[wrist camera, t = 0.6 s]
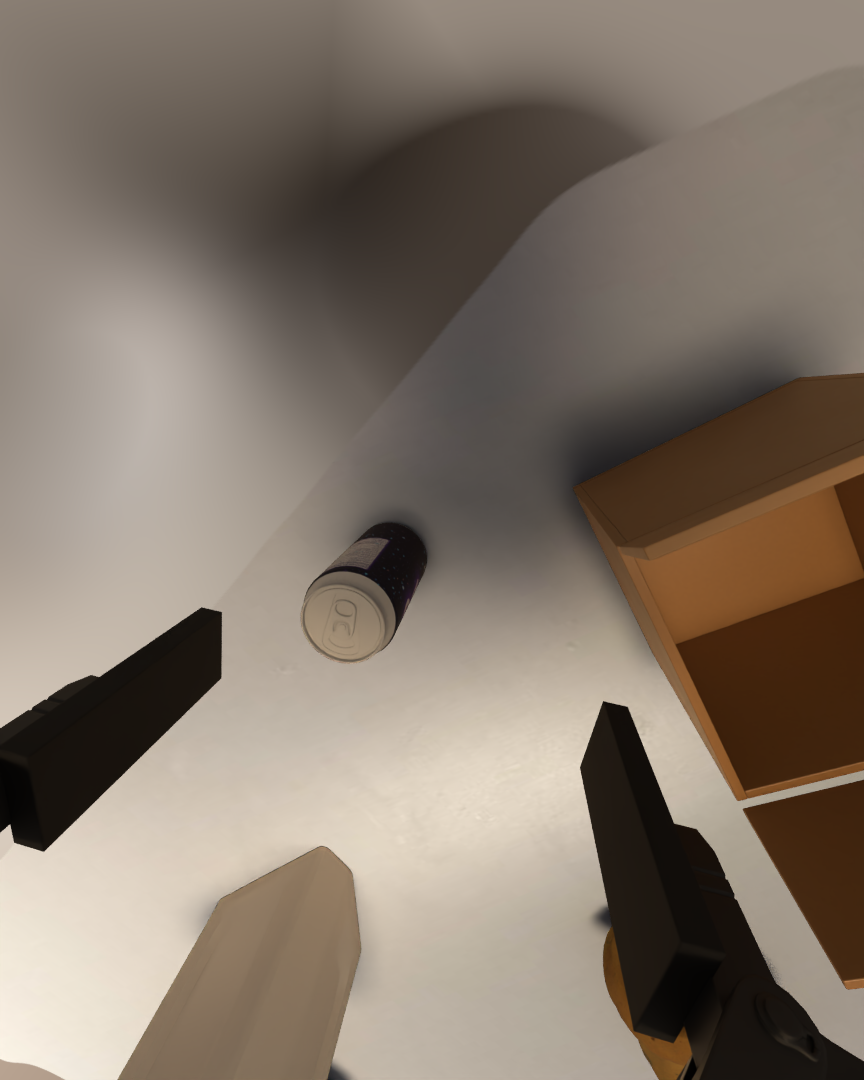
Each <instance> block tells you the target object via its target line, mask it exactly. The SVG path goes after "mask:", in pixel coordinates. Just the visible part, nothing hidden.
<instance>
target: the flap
mask: <svg viewBox="0 0 864 1080" xmlns="http://www.w3.org/2000/svg"><path fill="white" fill-rule="evenodd" d="M863 473H864V441H861V442H859V443H857V444H854V445H852V446H850V447H848V448H845V449H843V450H841V451H838V452H836V453H834V454H831V455H829V456H827V457H824V458H822V459H820V460H817V461H815V462H813V463H810V464H808V465H806V466H803V467H801V468H799V469H796V470H794V471H792V472H790V473H787V474H785V475H783V476H780V477H778V478H776V479H773V480H771V481H769V482H766V483H764V484H762V485H759V486H757V487H755V488H752V489H750V490H748V491H745V492H743V493H741V494H738V495H736V496H734V497H731V498H729V499H727V500H725V501H722V502H720V503H718V504H715V505H713V506H711V507H708V508H706V509H704V510H701V511H699V512H697V513H694V514H692V515H690V516H687V517H685V518H683V519H680V520H678V521H676V522H673V523H671V524H669V525H666V526H664V527H662V528H660V529H657V530H655V531H653V532H650V533H648V534H646V535H643V536H641V537H639V538H636V539H634V540H632V541H629V542H627V543H625V544H622V545H620V546H619V548H620V550H621V552H622V554H623V555H627V556H631V557H635V558H640V559H644V560H648V561H652V560H655V559H657V558H660V557H662V556H664V555H667V554H669V553H672V552H674V551H677V550H679V549H681V548H684V547H686V546H689V545H691V544H694V543H696V542H698V541H701V540H703V539H706V538H708V537H711V536H713V535H715V534H718V533H720V532H723V531H725V530H728V529H730V528H732V527H735V526H737V525H740V524H742V523H744V522H747V521H749V520H752V519H754V518H757V517H759V516H761V515H764V514H766V513H769V512H771V511H774V510H776V509H778V508H781V507H783V506H786V505H788V504H791V503H793V502H795V501H798V500H800V499H803V498H805V497H808V496H810V495H812V494H815V493H817V492H820V491H822V490H825V489H827V488H829V487H832V486H834V485H837V484H839V483H842V482H844V481H846V480H849V479H851V478H854V477H856V476H858V475H861V474H863Z"/></svg>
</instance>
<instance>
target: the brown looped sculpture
mask: <svg viewBox="0 0 864 1080" xmlns="http://www.w3.org/2000/svg"><path fill="white" fill-rule="evenodd" d="M603 968H604V977H605V982H606V986H607V989H608V992H609V995H610V997H611V999H612V1001H613V1003H614V1004H615V1006H616V1008H617V1010H618V1012H619V1014H620V1016H621V1018H622V1019H623V1021H624V1022H625V1023H626V1025H627V1026H628V1028H629V1029H630V1031H631V1032H632V1033H633V1034H634V1035H635V1037H636V1038H637V1039H638V1040H639V1044H640V1046H641V1048H642V1051H643V1053H644V1055H645V1057H646V1059H647V1060H648V1062H649V1063H650V1065H651V1066H652V1068H653V1070H654V1072H655V1074H656V1075H657V1077H658V1079H659V1080H676V1079H677V1078H678V1076H679V1075H680V1073H681V1071H682V1070H683V1068H684V1067H685V1065H686V1063H687V1062H688V1060H689V1059H690V1057H691V1055H692V1052H691V1048H690V1045H689V1041H688V1038H687V1034H686V1031H685V1027H683V1029H682V1030H681V1032H680V1034H679V1035H678V1037H677V1039H676V1040H675V1042H674V1044H673V1043H670V1042H667V1041H664V1040H660V1039H657V1038H654V1037H650V1036H647V1035H644V1034H641V1033H637V1032H634V1031H633V1026H632V1021H631V1016H630V1011H629V1006H628V1001H627V996H626V991H625V986H624V981H623V976H622V972H621V967H620V962H619V957H618V952H617V947H616V942H615V937H614V932H613V927H611V928H610V930H609V932H608V934H607V937H606V940H605V944H604V950H603Z"/></svg>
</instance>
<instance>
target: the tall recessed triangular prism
mask: <svg viewBox="0 0 864 1080" xmlns="http://www.w3.org/2000/svg"><path fill="white" fill-rule="evenodd" d="M360 953H361V943H360V934H359V926H358V918H357V909H356V901H355V892H354V884H353V876H352V873H351V871H350V870H349V869H348V868H347V867H346V866H345V865H344V864H343V863H342V862H341V861H340V860H339V859H338V858H337V857H336V856H335V855H334V854H333V853H332V852H331V851H330V850H329V849H328V848H326V847H318V848H316V849H314V850H313V851H311V852H309V853H307V854H305V855H303V856H301V857H299V858H297V859H295V860H294V861H292V862H290V863H288V864H286V865H284V866H282V867H280V868H278V869H277V870H275V871H273V872H271V873H269V874H267V875H265V876H263V877H261V878H259V879H258V880H256V881H254V882H252V883H250V884H248V885H246V886H244V887H242V888H241V889H239V890H237V891H235V892H233V893H231V894H229V895H227V896H225V897H223V898H222V899H221V900H220V901H219V903H218V905H217V906H216V908H215V910H214V912H213V913H212V915H211V917H210V919H209V920H208V922H207V924H206V926H205V927H204V929H203V931H202V933H201V934H200V936H199V938H198V940H197V941H196V943H195V945H194V947H193V948H192V950H191V952H190V954H189V955H188V957H187V959H186V961H185V962H184V964H183V966H182V968H181V969H180V971H179V973H178V975H177V976H176V978H175V980H174V982H173V983H172V985H171V987H170V989H169V990H168V992H167V994H166V996H165V997H164V999H163V1001H162V1003H161V1004H160V1006H159V1008H158V1010H157V1011H156V1013H155V1015H154V1017H153V1018H152V1020H151V1022H150V1024H149V1025H148V1027H147V1029H146V1031H145V1032H144V1034H143V1036H142V1038H141V1039H140V1041H139V1043H138V1045H137V1046H136V1048H135V1050H134V1052H133V1053H132V1055H131V1057H130V1059H129V1060H128V1062H127V1064H126V1066H125V1068H124V1069H123V1071H122V1073H121V1075H120V1076H119V1078H118V1080H327V1078H328V1074H329V1071H330V1067H331V1063H332V1059H333V1056H334V1052H335V1048H336V1044H337V1040H338V1037H339V1033H340V1029H341V1025H342V1021H343V1018H344V1014H345V1010H346V1006H347V1002H348V999H349V995H350V991H351V987H352V983H353V980H354V976H355V972H356V968H357V964H358V961H359V957H360Z"/></svg>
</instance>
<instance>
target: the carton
mask: <svg viewBox="0 0 864 1080" xmlns="http://www.w3.org/2000/svg"><path fill="white" fill-rule="evenodd" d="M861 441H864V373H857V374H843V375H829V376H815V377H800V378H798V379H796V380H793V381H791V382H789V383H787V384H785V385H783V386H781V387H779V388H777V389H775V390H773V391H771V392H769V393H767V394H765V395H762V396H760V397H758V398H756V399H754V400H752V401H750V402H748V403H746V404H744V405H742V406H740V407H738V408H736V409H734V410H731V411H729V412H727V413H725V414H723V415H721V416H719V417H717V418H715V419H713V420H711V421H709V422H707V423H705V424H703V425H700V426H698V427H696V428H694V429H692V430H690V431H688V432H686V433H684V434H682V435H680V436H678V437H676V438H674V439H672V440H669V441H667V442H665V443H663V444H661V445H659V446H657V447H655V448H653V449H651V450H649V451H647V452H645V453H643V454H641V455H638V456H636V457H634V458H632V459H630V460H628V461H626V462H624V463H622V464H620V465H618V466H616V467H614V468H612V469H610V470H607V471H605V472H603V473H601V474H599V475H597V476H595V477H593V478H591V479H589V480H587V481H585V482H583V483H581V484H579V485H577V486H574V487H573V490H574V492H575V494H576V496H577V498H578V500H579V502H580V504H581V506H582V508H583V510H584V512H585V514H586V516H587V519H588V521H589V523H590V525H591V527H592V529H593V531H594V533H595V535H596V537H597V539H598V541H599V543H600V545H601V547H602V549H603V552H604V554H605V556H606V558H607V560H608V562H609V564H610V566H611V568H612V570H613V572H614V574H615V576H616V578H617V580H618V582H619V585H620V587H621V589H622V591H623V593H624V595H625V597H626V599H627V601H628V603H629V605H630V607H631V609H632V611H633V613H634V615H635V618H636V620H637V622H638V624H639V626H640V628H641V630H642V632H643V634H644V636H645V638H646V640H647V642H648V644H649V646H650V648H651V651H652V653H653V655H654V656H655V658H656V660H657V662H658V663H659V665H660V667H661V669H662V670H663V672H664V674H665V676H666V677H667V679H668V681H669V683H670V684H671V686H672V688H673V689H674V691H675V693H676V695H677V696H678V698H679V700H680V702H681V703H682V705H683V707H684V709H685V710H686V712H687V714H688V716H689V717H690V719H691V721H692V723H693V724H694V726H695V728H696V730H697V731H698V733H699V735H700V737H701V738H702V740H703V742H704V744H705V745H706V747H707V749H708V751H709V752H710V754H711V756H712V758H713V759H714V761H715V763H716V765H717V766H718V768H719V770H720V772H721V773H722V775H723V777H724V779H725V780H726V782H727V784H728V786H729V787H730V789H731V791H732V793H733V794H734V796H735V798H736V800H737V801H740V800H745V799H747V797H748V798H752V797H756V796H760V795H765V794H769V793H773V792H777V791H781V790H785V789H789V788H793V787H797V786H801V785H805V784H810V783H814V782H818V781H822V780H826V779H830V778H834V777H838V776H842V775H846V774H850V773H855V772H859V771H863V770H864V473H863V474H861V475H858V476H856V477H854V478H851V479H849V480H846V481H844V482H842V483H839V484H837V485H834V486H832V487H829V488H827V489H825V490H822V491H820V492H817V493H815V494H812V495H810V496H808V497H805V498H803V499H800V500H798V501H795V502H793V503H791V504H788V505H786V506H783V507H781V508H778V509H776V510H774V511H771V512H769V513H766V514H764V515H761V516H759V517H757V518H754V519H752V520H749V521H747V522H744V523H742V524H740V525H737V526H735V527H732V528H730V529H728V530H725V531H723V532H720V533H718V534H715V535H713V536H711V537H708V538H706V539H703V540H701V541H698V542H696V543H694V544H691V545H689V546H686V547H684V548H681V549H679V550H677V551H674V552H672V553H669V554H667V555H664V556H662V557H660V558H657V559H655V560H652V561H648V560H644V559H640V558H635V557H631V556H627V555H623V554H622V552H621V550H620V548H619V546H620V545H622V544H625V543H627V542H629V541H632V540H634V539H636V538H639V537H641V536H643V535H646V534H648V533H650V532H653V531H655V530H657V529H660V528H662V527H664V526H666V525H669V524H671V523H673V522H676V521H678V520H680V519H683V518H685V517H687V516H690V515H692V514H694V513H697V512H699V511H701V510H704V509H706V508H708V507H711V506H713V505H715V504H718V503H720V502H722V501H725V500H727V499H729V498H731V497H734V496H736V495H738V494H741V493H743V492H745V491H748V490H750V489H752V488H755V487H757V486H759V485H762V484H764V483H766V482H769V481H771V480H773V479H776V478H778V477H780V476H783V475H785V474H787V473H790V472H792V471H794V470H796V469H799V468H801V467H803V466H806V465H808V464H810V463H813V462H815V461H817V460H820V459H822V458H824V457H827V456H829V455H831V454H834V453H836V452H838V451H841V450H843V449H845V448H848V447H850V446H852V445H854V444H857V443H859V442H861ZM743 811H744V813H745V815H746V817H747V819H748V820H749V822H750V824H751V826H752V827H753V829H754V831H755V833H756V834H757V836H758V838H759V839H760V841H761V843H762V845H763V846H764V848H765V850H766V852H767V853H768V855H769V857H770V858H771V860H772V862H773V864H774V865H775V867H776V869H777V870H778V872H779V874H780V876H781V877H782V879H783V881H784V883H785V884H786V886H787V888H788V889H789V891H790V893H791V895H792V896H793V898H794V900H795V902H796V903H797V905H798V907H799V908H800V910H801V912H802V914H803V915H804V917H805V919H806V920H807V922H808V924H809V926H810V927H811V929H812V931H813V933H814V934H815V936H816V938H817V939H818V941H819V943H820V945H821V946H822V948H823V950H824V952H825V953H826V955H827V957H828V958H829V960H830V962H831V964H832V965H833V967H834V969H835V970H836V972H837V974H838V976H839V977H840V979H841V981H842V983H843V984H844V986H845V988H846V989H848V990H849V989H857V988H864V780H861V781H857V782H853V783H848V784H844V785H840V786H836V787H832V788H828V789H823V790H819V791H815V792H811V793H807V794H802V795H798V796H794V797H790V798H786V799H781V800H777V801H773V802H769V803H765V804H761V805H756V806H752V807H748V808H744V809H743Z"/></svg>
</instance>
